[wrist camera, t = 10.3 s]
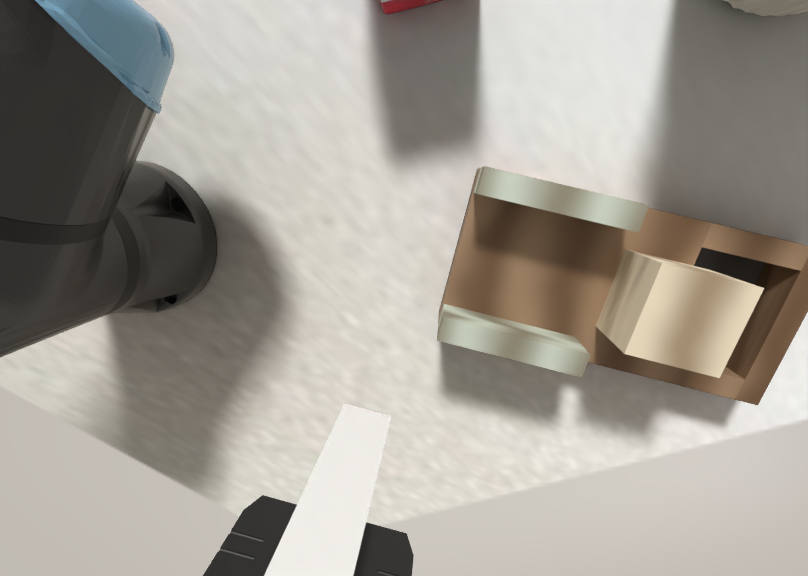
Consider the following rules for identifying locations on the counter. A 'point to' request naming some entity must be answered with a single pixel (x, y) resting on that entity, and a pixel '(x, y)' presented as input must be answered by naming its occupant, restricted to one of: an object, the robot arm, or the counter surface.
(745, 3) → the canister
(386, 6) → the ink box
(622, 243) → the wooden compartment tray
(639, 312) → the birch block
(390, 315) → the counter surface
